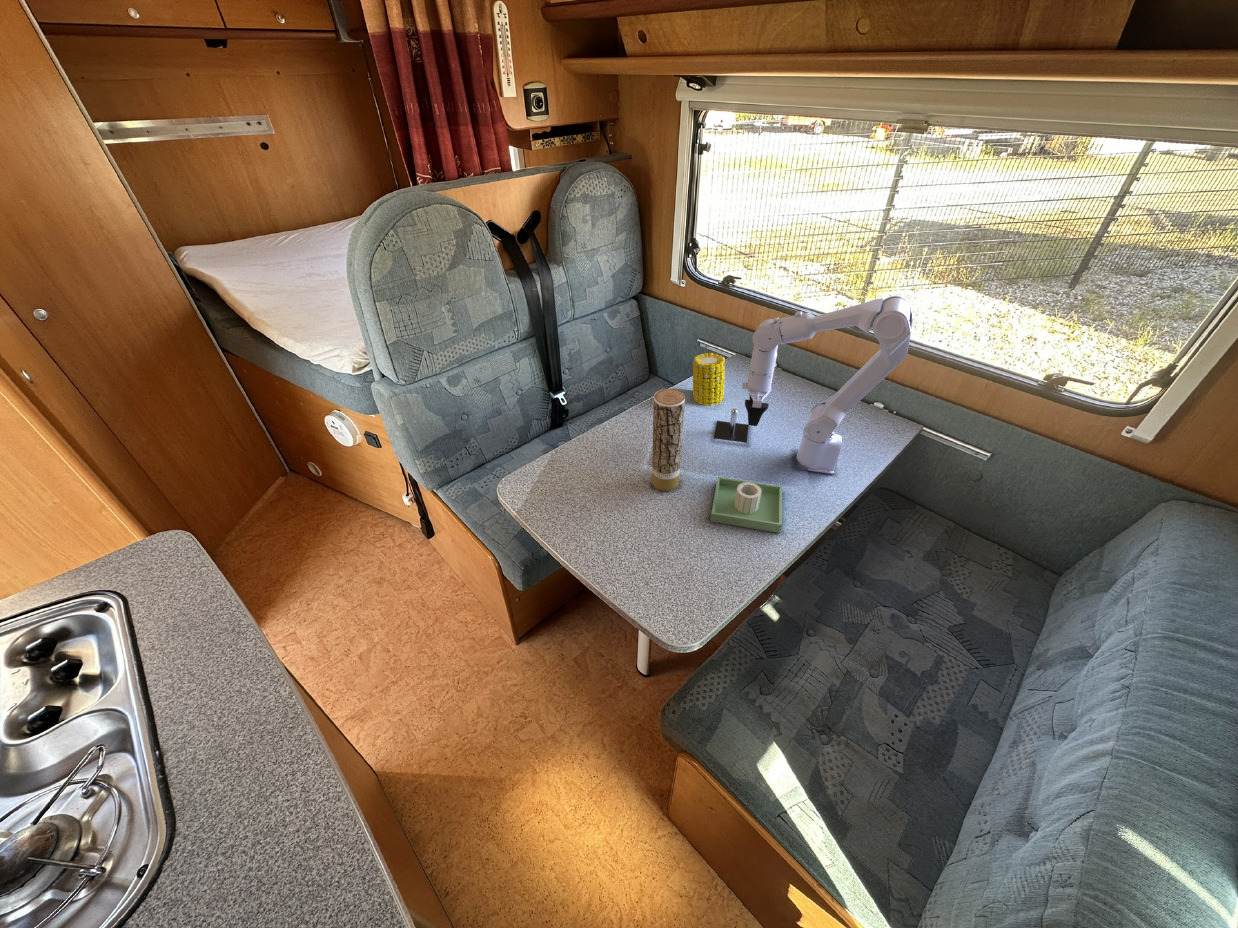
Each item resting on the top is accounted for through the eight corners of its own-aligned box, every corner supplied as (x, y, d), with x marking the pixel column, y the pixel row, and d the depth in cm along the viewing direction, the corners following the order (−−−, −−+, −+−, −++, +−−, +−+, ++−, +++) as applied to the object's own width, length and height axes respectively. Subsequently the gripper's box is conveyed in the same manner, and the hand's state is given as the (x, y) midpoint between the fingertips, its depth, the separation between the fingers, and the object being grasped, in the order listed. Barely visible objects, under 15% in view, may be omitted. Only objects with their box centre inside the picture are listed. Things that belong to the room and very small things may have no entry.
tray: (780, 493, 118) (782, 486, 117) (779, 533, 109) (781, 525, 107) (716, 484, 122) (717, 476, 120) (710, 521, 112) (711, 513, 110)
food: (705, 415, 149) (687, 401, 156) (737, 398, 151) (717, 385, 158) (698, 373, 139) (679, 360, 146) (732, 355, 141) (711, 343, 148)
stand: (748, 427, 141) (752, 402, 135) (746, 445, 134) (750, 420, 129) (716, 423, 142) (719, 398, 137) (713, 441, 136) (716, 416, 131)
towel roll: (758, 500, 116) (761, 484, 113) (757, 515, 112) (760, 499, 109) (735, 496, 117) (738, 480, 114) (733, 511, 113) (736, 495, 110)
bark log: (677, 493, 119) (683, 406, 104) (649, 490, 120) (651, 403, 105) (680, 476, 124) (686, 390, 109) (653, 473, 126) (656, 387, 110)
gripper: (746, 355, 126) (739, 400, 134) (743, 382, 115) (735, 430, 123) (775, 357, 124) (766, 403, 133) (774, 385, 113) (764, 434, 122)
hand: (753, 416), depth 128 cm, fingers open, 7 cm apart
